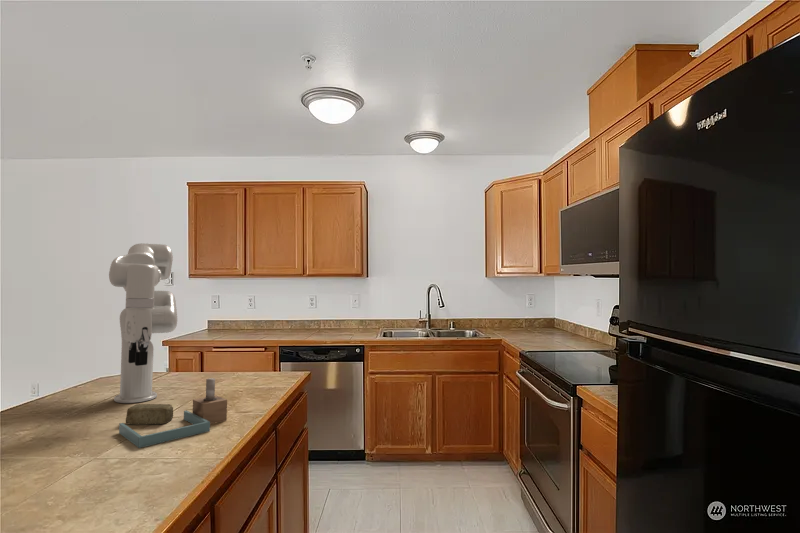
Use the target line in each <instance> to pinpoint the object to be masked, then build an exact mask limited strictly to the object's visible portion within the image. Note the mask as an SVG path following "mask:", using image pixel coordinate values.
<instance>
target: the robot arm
mask: <svg viewBox="0 0 800 533" xmlns="http://www.w3.org/2000/svg"><path fill="white" fill-rule="evenodd" d="M173 256H174V255H173V251H172V249H171V247H170V246H168V245H166V244H163V243H162V244H161V243H159V244H158V243H135V244H133V245H131V246H130V247H129V249H128V250H127V254H124V255H120V256H118V257H115V258H114V259H113V260H112V261H111V264H110V268H109V272H108V278H109V282H110V284H111V285H112V286H113V287H117V288H123V289H124V291H125V308H124V309H123V310H121V311H120V314H119V327H120V332H121V333H120V335H121V336H120V337H121V353H120V354H121V356H120V358H121V359H120V378H119V379H120V381H119V384H120V385H119V394H117V395H115V396H114V397H113V398H114V400H113V401H114V402H116V403H120V404H134V403H136V404H137V403H141V402H142V403H143V402H147V401H152V400H154V399H156V398H157V397H158V393H157V392H156V391H153V376H154V375H153V371H154V370H153V369H154V344H153V343H152V341H151V340H152V334H163V333H164V334H168V333H171V332H173V331H174V330H176V327H177V325H178V311H177V310H178V309H177V303H176V301H177V300H176V297H175V295H174V293H173V292H171V291H168V290H155V287H156V286H157V285H158V284H159V283H160V282H161V281H166V280H168V279H169V278H170V276H171V273H172V268H173V260H174V259H173V258H174V257H173Z"/></svg>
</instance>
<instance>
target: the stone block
mask: <svg viewBox="0 0 800 533" xmlns="http://www.w3.org/2000/svg"><path fill="white" fill-rule="evenodd" d="M173 418H174V407H173V406H172V404H171V403H170V404H169V403H167V404H166V403H138V404H137V403H136V404H134V405H132V406H130V407H128V408H127V410H126V416H125V424H128V425H140V424H141V425H143V426H145V425H148V426H149V425H164V424H167V423H169V422H170V421H172V419H173ZM168 421H169V422H168Z"/></svg>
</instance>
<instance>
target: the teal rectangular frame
mask: <svg viewBox="0 0 800 533" xmlns="http://www.w3.org/2000/svg"><path fill="white" fill-rule="evenodd" d="M183 420H184V421H186V422H187V421H188V423H189V422H190V423H189V424H191V425H185V426H181V427H177V428H176V427H175V428H173V429H168V430H163V431H159V432H154V433H150V434H145V435H141V434H140V433H138V432H137V431H135V430H133V428H131V427H130V426H128V425H127V424H126V423H124V422H120V423H119V425H118V426H119V428H118V434H119V435H121V436H122V437H124V438H125V439H126V440H128V441H129V442H130V443H132V444H133V445H134V446H136V447H137V448H138V449H140V448H145V447H148V446H153V445H158V444H162V443H165V441H166V442H170V441H174V439H175V440H178V439H181V438H186V437H191V436H195V435H199V434H203V433H207V432H210V431H211V424H210V422H209V421H207V420H205V419H203V418H201V417H199V416H197V415H195V414H193V412H191V411H189V410H184V411H183ZM169 440H170V441H169Z"/></svg>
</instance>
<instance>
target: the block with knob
mask: <svg viewBox="0 0 800 533" xmlns="http://www.w3.org/2000/svg"><path fill="white" fill-rule="evenodd" d="M205 382H206V383H205V385H206V386H205V397H198V398H193V399H192V413H193V414H195V415H197V416H199V417H201V418H203V419H205V420H207V421H209V422H210V425H213V424H216V423H220V422H226V421H227V419H228V418H227V417H228V399H226V398H224V397H222V396H219V395H215V394H216V392H215V391H216V378H213V377H210V378H206V381H205Z"/></svg>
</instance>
